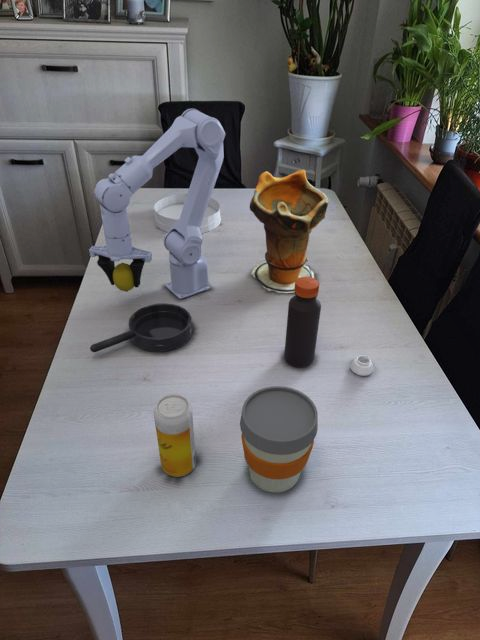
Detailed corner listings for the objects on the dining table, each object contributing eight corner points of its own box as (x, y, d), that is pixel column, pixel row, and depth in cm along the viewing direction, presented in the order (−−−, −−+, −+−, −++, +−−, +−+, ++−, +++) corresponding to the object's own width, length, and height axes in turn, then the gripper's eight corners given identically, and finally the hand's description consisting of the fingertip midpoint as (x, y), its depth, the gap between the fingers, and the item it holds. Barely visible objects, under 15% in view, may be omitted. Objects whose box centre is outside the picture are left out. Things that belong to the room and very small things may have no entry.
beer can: (162, 452, 88) (154, 393, 79) (196, 451, 89) (192, 392, 80) (160, 480, 84) (151, 420, 74) (195, 478, 84) (191, 419, 75)
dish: (217, 236, 157) (217, 221, 154) (149, 233, 156) (147, 218, 153) (223, 208, 174) (222, 195, 171) (161, 206, 174) (159, 192, 170)
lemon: (132, 298, 119) (128, 270, 114) (111, 295, 120) (106, 267, 115) (141, 287, 123) (137, 259, 118) (121, 284, 124) (116, 256, 119)
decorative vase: (268, 307, 126) (274, 203, 109) (235, 265, 142) (236, 169, 125) (337, 292, 133) (353, 192, 116) (298, 254, 149) (307, 161, 132)
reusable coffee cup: (306, 443, 91) (314, 385, 82) (313, 501, 82) (324, 443, 72) (239, 443, 91) (240, 384, 81) (239, 502, 81) (240, 443, 72)
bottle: (297, 345, 114) (305, 270, 102) (319, 359, 111) (331, 283, 98) (277, 357, 111) (283, 281, 98) (299, 372, 107) (308, 295, 94)
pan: (173, 309, 124) (172, 296, 121) (203, 337, 115) (203, 324, 113) (120, 328, 117) (118, 315, 114) (148, 360, 108) (146, 347, 106)
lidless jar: (365, 360, 111) (346, 365, 109) (367, 350, 109) (348, 355, 108) (377, 373, 108) (357, 379, 106) (379, 363, 106) (360, 369, 104)
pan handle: (132, 334, 112) (131, 328, 111) (135, 338, 111) (134, 332, 110) (89, 350, 107) (88, 344, 106) (92, 355, 106) (91, 348, 105)
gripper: (79, 238, 109) (90, 289, 118) (142, 244, 108) (149, 295, 117) (92, 224, 115) (102, 275, 123) (152, 230, 114) (157, 280, 122)
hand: (125, 284), depth 120 cm, fingers closed on lemon, 5 cm apart
